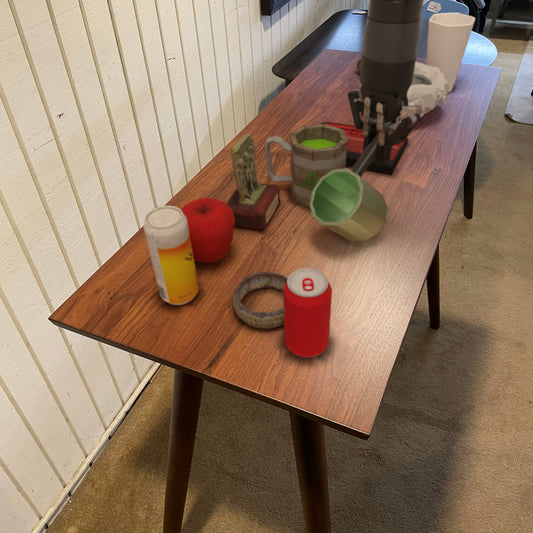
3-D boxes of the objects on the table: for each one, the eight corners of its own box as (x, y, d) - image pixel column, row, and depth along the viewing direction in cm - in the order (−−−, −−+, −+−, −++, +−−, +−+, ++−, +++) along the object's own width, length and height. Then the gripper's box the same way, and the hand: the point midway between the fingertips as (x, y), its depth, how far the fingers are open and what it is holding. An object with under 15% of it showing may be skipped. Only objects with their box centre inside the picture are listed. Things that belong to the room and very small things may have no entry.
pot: (385, 141, 90) (361, 117, 83) (427, 163, 84) (405, 139, 77) (327, 224, 93) (300, 207, 86) (364, 251, 87) (337, 236, 80)
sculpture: (265, 233, 91) (262, 159, 81) (223, 226, 93) (215, 153, 84) (281, 203, 98) (279, 131, 88) (241, 197, 100) (236, 126, 90)
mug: (348, 181, 103) (353, 126, 95) (339, 212, 95) (343, 155, 87) (273, 173, 107) (271, 119, 99) (259, 202, 99) (255, 145, 91)
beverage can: (326, 325, 75) (329, 263, 67) (331, 359, 70) (336, 297, 62) (283, 327, 75) (281, 265, 67) (285, 361, 70) (284, 299, 62)
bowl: (368, 91, 136) (371, 52, 129) (448, 100, 130) (456, 60, 123) (348, 125, 121) (351, 84, 115) (437, 138, 115) (445, 95, 109)
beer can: (207, 291, 81) (195, 214, 71) (178, 313, 78) (161, 235, 68) (181, 275, 84) (166, 198, 74) (152, 295, 81) (132, 218, 71)
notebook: (393, 165, 103) (296, 147, 110) (391, 175, 104) (295, 157, 111) (411, 133, 114) (321, 118, 121) (409, 143, 115) (321, 128, 122)
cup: (454, 98, 130) (470, 28, 119) (414, 93, 134) (425, 23, 122) (462, 82, 138) (477, 14, 126) (424, 77, 141) (435, 10, 130)
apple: (229, 232, 92) (223, 180, 85) (245, 265, 85) (241, 211, 78) (175, 246, 90) (164, 194, 82) (188, 280, 83) (178, 227, 76)
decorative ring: (223, 324, 76) (289, 338, 73) (221, 309, 73) (289, 323, 71) (246, 279, 83) (306, 290, 80) (245, 264, 81) (306, 275, 78)
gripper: (446, 58, 69) (423, 170, 80) (374, 32, 78) (363, 137, 89) (407, 71, 66) (389, 186, 77) (336, 43, 74) (329, 150, 86)
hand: (375, 159), depth 83 cm, fingers closed on pot, 2 cm apart
